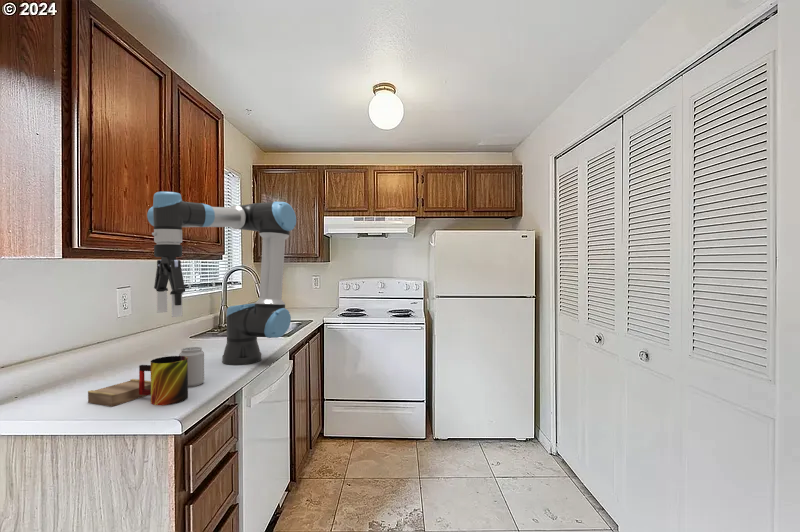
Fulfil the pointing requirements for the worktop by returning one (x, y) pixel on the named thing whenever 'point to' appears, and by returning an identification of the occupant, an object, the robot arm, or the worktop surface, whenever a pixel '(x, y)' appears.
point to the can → (194, 365)
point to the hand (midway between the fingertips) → (169, 314)
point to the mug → (166, 380)
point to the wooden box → (117, 393)
